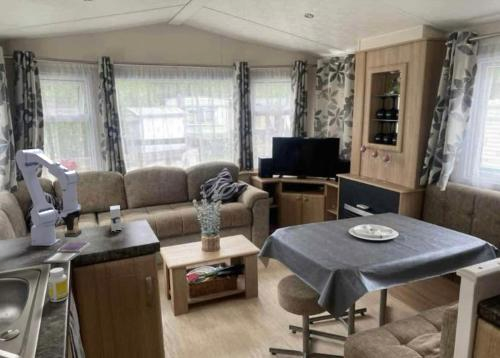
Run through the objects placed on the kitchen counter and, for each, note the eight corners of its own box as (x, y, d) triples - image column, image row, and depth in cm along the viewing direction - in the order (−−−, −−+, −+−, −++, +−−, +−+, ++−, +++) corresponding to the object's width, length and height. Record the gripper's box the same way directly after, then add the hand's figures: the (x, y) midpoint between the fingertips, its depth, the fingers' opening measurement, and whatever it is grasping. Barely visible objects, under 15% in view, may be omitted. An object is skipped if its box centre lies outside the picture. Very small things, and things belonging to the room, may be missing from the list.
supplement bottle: (71, 294, 123) (68, 266, 121) (63, 302, 117) (61, 273, 116) (54, 294, 123) (52, 266, 121) (46, 302, 117) (43, 273, 116)
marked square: (43, 262, 149) (43, 261, 149) (56, 253, 159) (56, 252, 159) (67, 262, 149) (67, 261, 149) (79, 253, 159) (79, 252, 159)
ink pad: (57, 252, 160) (56, 249, 160) (68, 244, 170) (68, 241, 169) (80, 252, 160) (79, 249, 159) (90, 244, 169) (90, 241, 169)
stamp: (64, 237, 161) (63, 219, 160) (70, 233, 166) (69, 216, 165) (76, 237, 161) (74, 219, 160) (81, 233, 166) (80, 216, 165)
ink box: (111, 227, 196) (109, 205, 194) (121, 226, 198) (119, 205, 196) (111, 232, 188) (109, 209, 186) (121, 231, 190) (120, 208, 188)
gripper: (71, 202, 154) (73, 233, 156) (86, 195, 168) (88, 223, 170) (54, 202, 154) (57, 233, 156) (71, 194, 168) (73, 223, 170)
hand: (72, 228), depth 163 cm, fingers closed on stamp, 3 cm apart
